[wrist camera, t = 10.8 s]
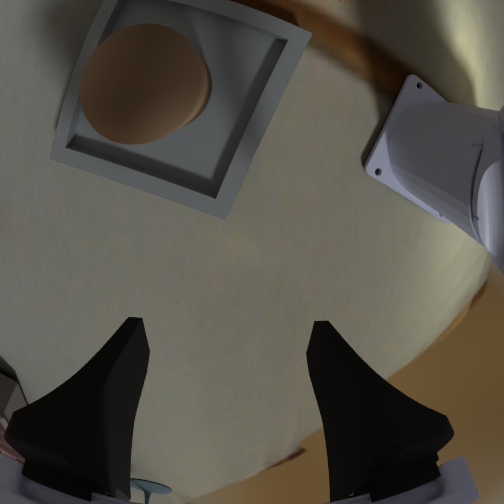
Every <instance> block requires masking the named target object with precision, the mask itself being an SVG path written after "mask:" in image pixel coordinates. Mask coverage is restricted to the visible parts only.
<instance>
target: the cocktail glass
mask: <svg viewBox="0 0 504 504" xmlns="http://www.w3.org/2000/svg"><path fill="white" fill-rule="evenodd" d="M130 486H131V487H134V488H136V489H139V490H142V491H144V494H145V504H148V503H149V498H150V495H151V493H170V492H172V490H171V489H170V488H169V487H167V486H165V485H162V484H159V483H155V482H151V481H146V480H140V479H130Z"/></svg>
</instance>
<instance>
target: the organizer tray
mask: <svg viewBox="0 0 504 504" xmlns="http://www.w3.org/2000/svg"><path fill="white" fill-rule="evenodd" d="M25 406H27V404H26V401H25V399H24V397H23V394H22V392H21V389H20V387H19V384H18V382H16V381H14V380H12V379H10V378H8V377H6V376H5V375H3V374H1V373H0V452H1V453H3V454H5V455H7V456H9V457H11V458H13V459H15V460H17V461H19V462H20V463H22V464H24V462H25V458H23V457H22V456H21V455H20V454H19V453H18V452H16V451H15V450H14V449H13V448H12V447H11V446H10V445H9V444H8V443H7V442H6V440H5V439H4V433H5V431H6V428H7V426H8V423H9V421H10V418H11V416H12V414H13V412H14V411H16V410H18V409H20V408H22V407H25Z"/></svg>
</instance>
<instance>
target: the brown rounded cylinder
mask: <svg viewBox="0 0 504 504" xmlns="http://www.w3.org/2000/svg"><path fill="white" fill-rule="evenodd" d="M211 93H212V78H211V74H210V71H209V69H208V67H207V65H206V64H205V62H204V61H203V60H202V58H201V57H200V56H199V54H198V53H197V52H196V50H195V49H194V48H193V46H192V45H191V44H190V42H189V41H188V40H187V39H186V38H185V37H184V36H183V35H182V34H180V33H179V32H177V31H176V30H174V29H171V28H169V27H166V26H163V25H159V24H147V23H145V24H137V25H133V26H129V27H126V28H123V29H121V30H119V31H117V32H115V33H114V34H112V35H111V36H109V37H108V38H106V39H105V40H104V41H103V42H102V43H101V44H100V45H99V46H98V47H97V48H96V49H95V50H94V52H93V53H92V54H91V56H90V58H89V59H88V61H87V63H86V65H85V68H84V70H83V73H82V77H81V82H80V102H81V106H82V110H83V112H84V115H85V117H86V119H87V121H88V122H89V123H90V125H91V126H92V127H93V128H94V129H95V130H96V131H97V132H98V133H99V134H100V135H102V136H103V137H105V138H107V139H108V140H111V141H113V142H116V143H120V144H127V145H139V144H145V143H149V142H152V141H155V140H157V139H160V138H162V137H164V136H166V135H168V134H169V133H171V132H173V131H175V130H177V129H179V128H181V127H183V126H185V125H187V124H189V123H191V122H192V121H194V120H195V119H196V118H197V117H198V116H199V115H200V114H201V113H202V112H203V111H204V109H205V108H206V106H207V104H208V102H209V100H210V97H211Z"/></svg>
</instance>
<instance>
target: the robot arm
mask: <svg viewBox="0 0 504 504" xmlns="http://www.w3.org/2000/svg"><path fill="white" fill-rule="evenodd" d="M417 83H419V85H420V88H419V89H418V88H417ZM377 168H379V173H378V174H375V170H376V169H377ZM364 171H365V172H366V173H367V174H368V175H370V176H372V177H373V178H375V179H377V180H378V181H380V182H382V183H384V184H385V185H387V186H389V187H390V188H392V189H394V190H395V191H397V192H398V193H400V194H402V195H403V196H405V197H406V198H408V199H410V200H411V201H413V202H414V203H416V204H417V205H419V206H420V207H422V208H423V209H425V210H426V211H428V212H429V213H431V214H432V215H434V216H435V217H437V218H438V219H440V220H441V221H443V222H444V223H445V224H449V223H451V222H452V223H453V224H455V225H456V226H458V227H459V228H460V229H462V230H463V231H464V232H465V233H467V234H468V235H469V236H471V237H472V238H473V239H474V240H476V241H477V242H478V243H479V244H481V245H482V246H483V247H485V248H486V249H487V250H488V251H489V252H490V254H491V257H492V264H493V265H494V266H496V267H497V268H498V269H499V270H500V271H501V272H502V273H503V274H504V106H503V107H502V108H501V109H500V111H495V110H490V109H485V108H480V107H474V106H469V105H463V104H456V103H449V102H447V101H446V100H445V99H444V98H442V97H441V96H440V95H439V94H438V93H437V92H436V91H434V90H433V89H432V88H431V87H430V86H428V85H427V84H426V83H425V82H424V81H422V80H421V79H420V78H419V77H417V76H416V75H408V76H407V77H406V80H405V82H404V84H403V86H402V88H401V91H400V93H399V95H398V97H397V99H396V101H395V104H394V106H393V108H392V110H391V112H390V114H389V116H388V118H387V120H386V123H385V125H384V127H383V129H382V131H381V133H380V135H379V137H378V139H377V141H376V143H375V145H374V147H373V149H372V151H371V153H370V155H369V157H368V159H367V161H366V163H365V165H364ZM439 214H440V215H439ZM149 354H150V350H149V345H148V341H147V337H146V333H145V328H144V324H143V319H142V318H137V317H128V318H127V319H126V320H125V322H124V323H123V324H122V325H121V326H120V327H119V329H118V330H117V331H116V332H115V333H114V334H113V336H112V337H111V338H110V339H109V340H108V341H107V342H106V343H105V345H104V346H103V347H102V348H101V349H100V350H99V351H98V352H97V353H96V354H95V355H94V356H93V357H92V358H91V359H90V360H89V361H88V362H87V363H86V364H85V365H84V366H83V367H82V368H81V369H80V370H79V371H78V372H77V373H76V374H74V375H73V376H72V377H71V378H70V379H68V380H67V381H66V382H64V383H63V384H61V385H60V386H59V387H57V388H56V389H55V390H53V391H52V392H50V393H48V394H47V395H45V396H44V397H42V398H40V399H38V400H37V401H35V402H33V403H31V404H29V405H27V406H25V407H22V408H20V409H18V410H16V411H14V412H13V414H12V416H11V418H10V421H9V423H8V426H7V428H6V431H5V433H4V439H5V440H6V442H7V443H8V444H9V445H10V446H11V447H12V448H13V449H14V450H15V451H16V452H18V453H19V454H20V455H21V456H22V457H23V458H25V462H24V464H22V463H20V462H19V461H17V460H15V459H13V458H11V457H9V456H7V455H5V454H3V453H1V452H0V504H141V503H136V502H131V501H129V500H130V499H131V493H130V465H131V448H132V437H133V428H134V421H135V416H136V411H137V407H138V403H139V400H140V396H141V392H142V388H143V385H144V381H145V377H146V373H147V368H148V361H149ZM306 356H307V363H308V370H309V375H310V379H311V382H312V386H313V390H314V393H315V396H316V400H317V403H318V407H319V410H320V414H321V418H322V422H323V428H324V434H325V441H326V449H327V457H328V468H329V482H330V483H329V484H330V502H329V503H323V504H471V503H472V502H474V501H476V500H477V499H479V497H480V496H479V493H478V490H477V488H476V485H475V482H474V480H473V477H472V475H471V472H470V470H469V467H468V465H467V462H466V460H465V458H464V456H463V455H461V456H459V457H457V458H455V459H452V460H450V461H448V462H446V463H444V464H442V465H440V466H437V464H436V461H438V460H439V457H438V455H437V452H438V451H439V450H440V449H442V448H443V447H444V446H445V445H446V444H447V443H448V442H449V441H450V440H451V439H452V437H453V436H454V431H453V429H452V426H451V424H450V422H449V420H448V418H447V417H446V415H443V414H441V413H439V412H437V411H434V410H432V409H430V408H428V407H426V406H424V405H422V404H420V403H418V402H416V401H415V400H413V399H411V398H409V397H408V396H406V395H405V394H403V393H402V392H401V391H399V390H398V389H396V388H395V387H393V386H392V385H391V384H389V383H388V382H387V381H386V380H384V379H383V378H382V377H381V376H380V375H378V374H377V373H376V372H375V371H374V370H373V369H372V368H371V367H370V366H369V365H368V364H366V363H365V362H364V361H363V360H362V359H361V357H360V356H359V355H358V354H357V353H356V352H355V351H354V350H353V349H352V348H351V347H350V346H349V344H348V343H347V342H346V341H345V340H344V339H343V337H342V336H341V335H340V334H339V333H338V332H337V330H336V329H335V328H334V327H333V326H332V324H331V323H330V322H329V321H314V325H313V329H312V333H311V337H310V341H309V345H308V349H307V353H306Z"/></svg>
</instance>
